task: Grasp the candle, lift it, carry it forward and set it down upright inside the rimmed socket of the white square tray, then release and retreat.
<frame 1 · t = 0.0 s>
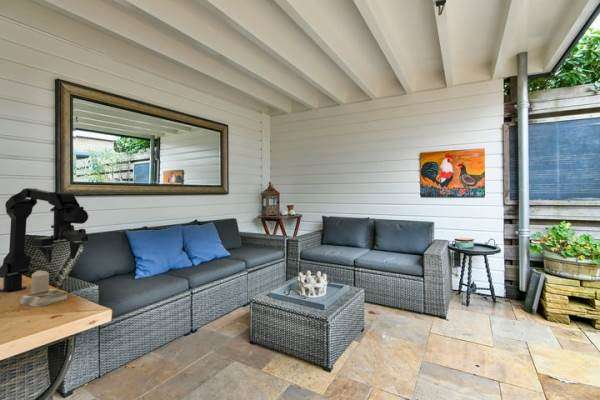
hand: (61, 260, 123), 15 cm above the table, fingers open, 9 cm apart
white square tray: (44, 301, 118), on the table
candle: (39, 295, 125), on the table
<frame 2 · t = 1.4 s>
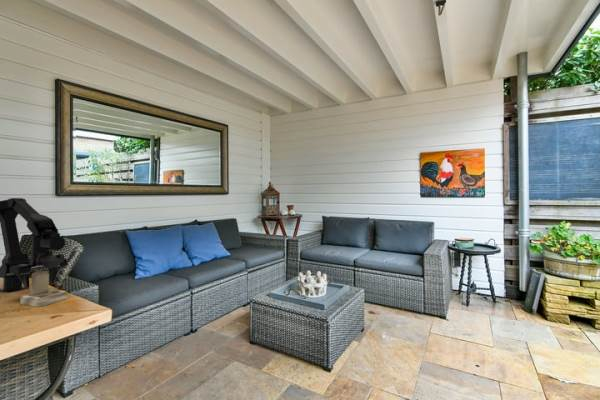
hand: (40, 286, 125), 4 cm above the table, fingers open, 9 cm apart
nothing on the table moved.
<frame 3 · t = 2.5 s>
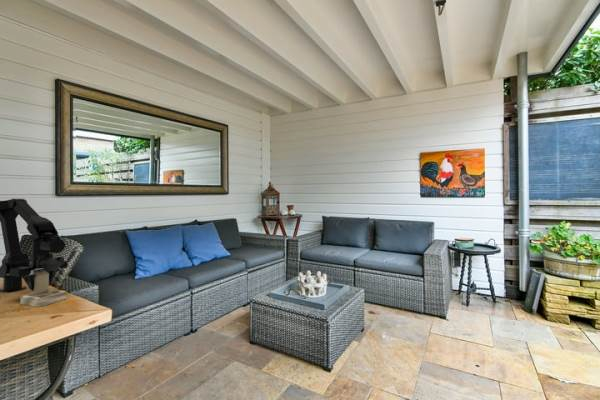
hand: (40, 288, 125), 3 cm above the table, fingers closed on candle, 5 cm apart
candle: (39, 295, 125), on the table, touching gripper
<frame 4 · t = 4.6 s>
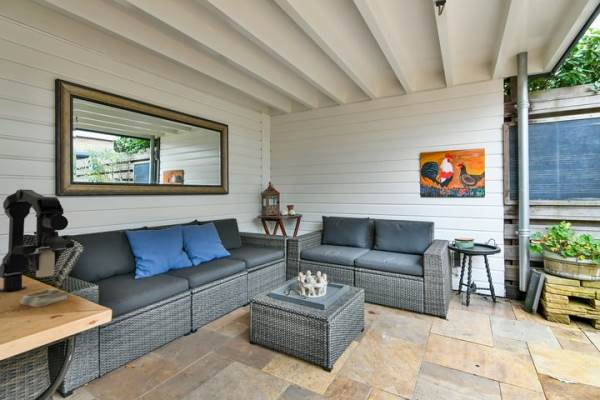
hand: (45, 268, 118), 13 cm above the table, fingers closed on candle, 5 cm apart
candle: (45, 276, 118), point 10 cm above the table, touching gripper
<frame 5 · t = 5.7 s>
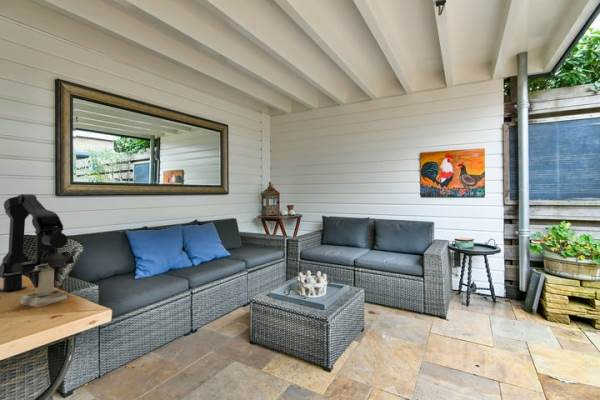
hand: (44, 285, 118), 6 cm above the table, fingers closed on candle, 5 cm apart
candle: (44, 292, 118), point 3 cm above the table, touching gripper
when the fingers open (5 cm above the table, at t = 6.7 s): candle stays where it is, resting on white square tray.
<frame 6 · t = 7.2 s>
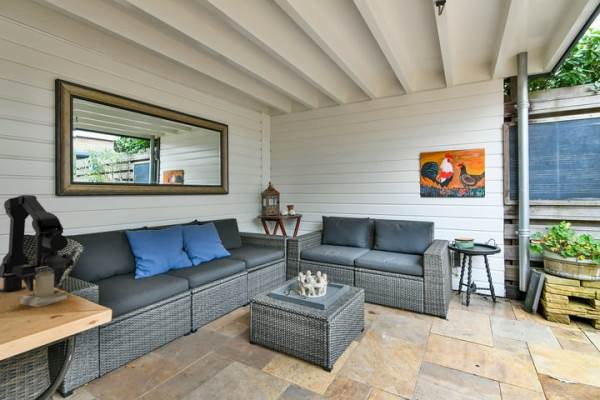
hand: (44, 288, 118), 5 cm above the table, fingers open, 9 cm apart
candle: (44, 297, 118), point 2 cm above the table, touching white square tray
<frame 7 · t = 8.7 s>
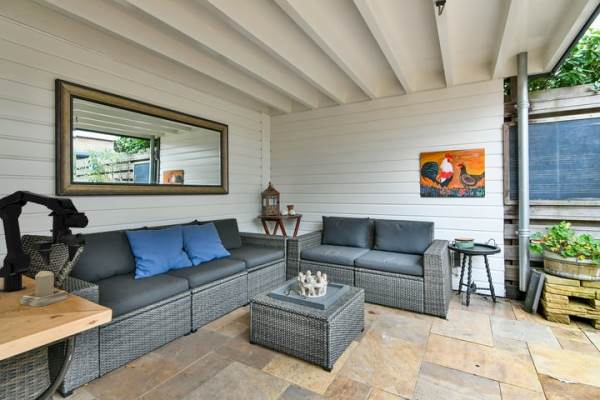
hand: (59, 263, 129), 12 cm above the table, fingers open, 9 cm apart
nothing on the table moved.
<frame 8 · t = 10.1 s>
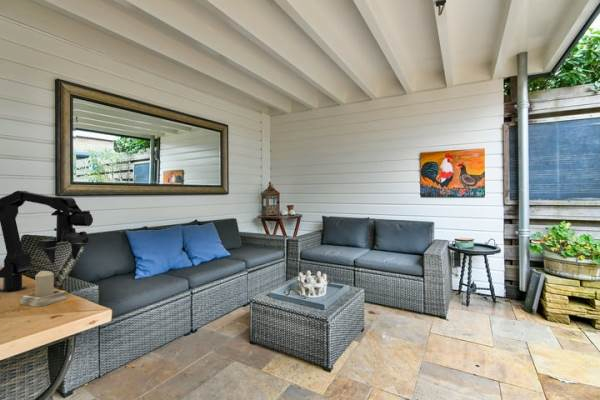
hand: (64, 261, 132), 13 cm above the table, fingers open, 9 cm apart
nothing on the table moved.
at the end: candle 0.1 cm off-centre on the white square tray, point 1.6 cm above the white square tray's base; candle tilted 0°; the gripper is holding nothing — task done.
